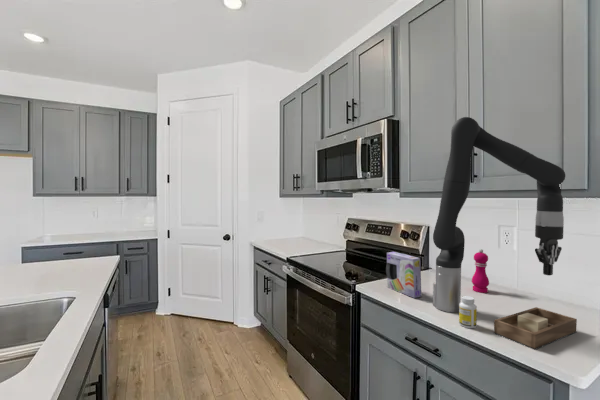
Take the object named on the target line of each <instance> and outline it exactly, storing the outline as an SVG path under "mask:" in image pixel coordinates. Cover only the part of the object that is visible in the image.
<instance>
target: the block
mask: <svg viewBox="0 0 600 400" xmlns="http://www.w3.org/2000/svg"><path fill="white" fill-rule="evenodd" d="M518 327H521V328H524V329H526V330H529V331H532V332H537V331H539V330H542V329H545V328H547V327H548V319H546V318H543V317H540V316H537V315H534V314H530V313H525V314H521V315H518Z"/></svg>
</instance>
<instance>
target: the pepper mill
mask: <svg viewBox="0 0 600 400" xmlns="http://www.w3.org/2000/svg"><path fill="white" fill-rule="evenodd" d="M473 260H474V261H475V262H474V266H475V272H474V274H473V275H472V278H471V283H472V291H473V292H476V293H481V294H488V293H489V291H488V290H489V289H488V286H489V285H490V280H489V277H488V276H487V271H486V268H487V266H488V265H487V264H488V261H489V256H488V255H487V254H486V253H485V252H484V249H481V248H480V249H479V250H478V252H476V253H474V255H473Z"/></svg>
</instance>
